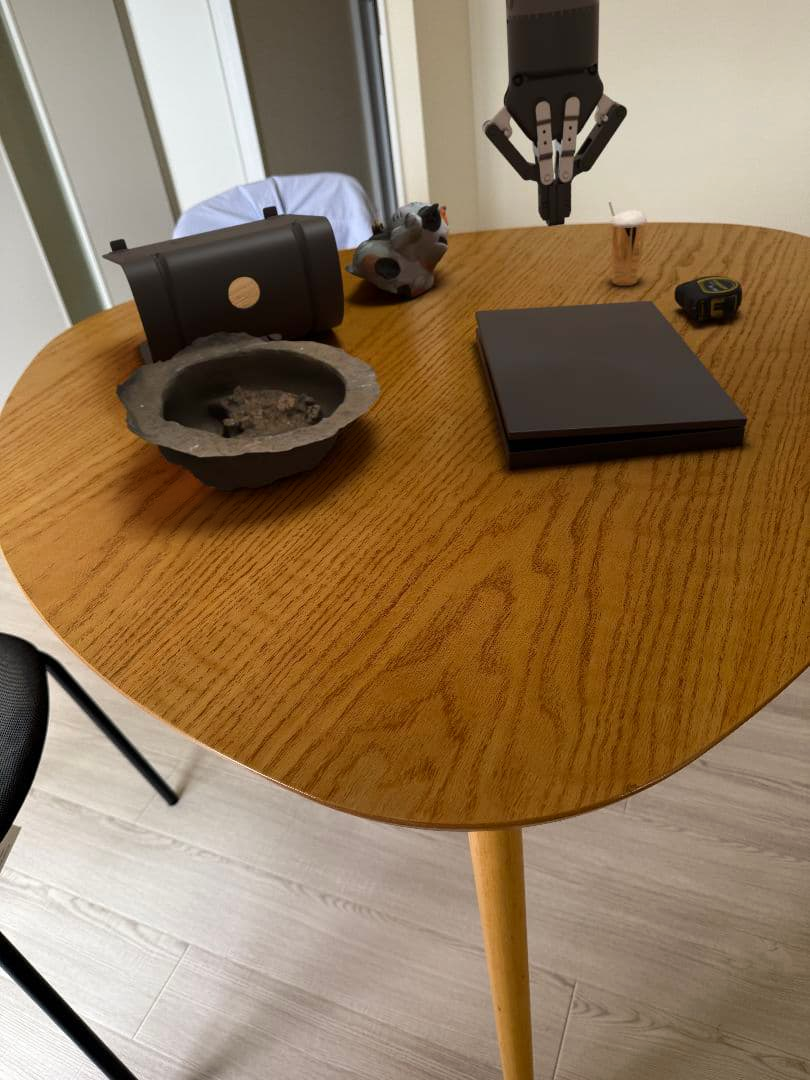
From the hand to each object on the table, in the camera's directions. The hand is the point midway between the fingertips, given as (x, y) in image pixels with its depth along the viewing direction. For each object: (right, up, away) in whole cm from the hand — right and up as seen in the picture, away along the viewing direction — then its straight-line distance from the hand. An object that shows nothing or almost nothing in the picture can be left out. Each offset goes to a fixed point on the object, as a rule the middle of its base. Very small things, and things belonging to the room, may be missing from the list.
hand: (554, 223), depth 74 cm
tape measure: (+22, -3, +20) cm, 30 cm away
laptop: (+5, -14, +9) cm, 17 cm away
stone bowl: (-28, -21, +5) cm, 36 cm away
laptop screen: (+5, -12, +7) cm, 15 cm away
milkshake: (+16, +5, +33) cm, 36 cm away
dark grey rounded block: (-36, -5, +29) cm, 46 cm away
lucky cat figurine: (-15, +7, +41) cm, 44 cm away
